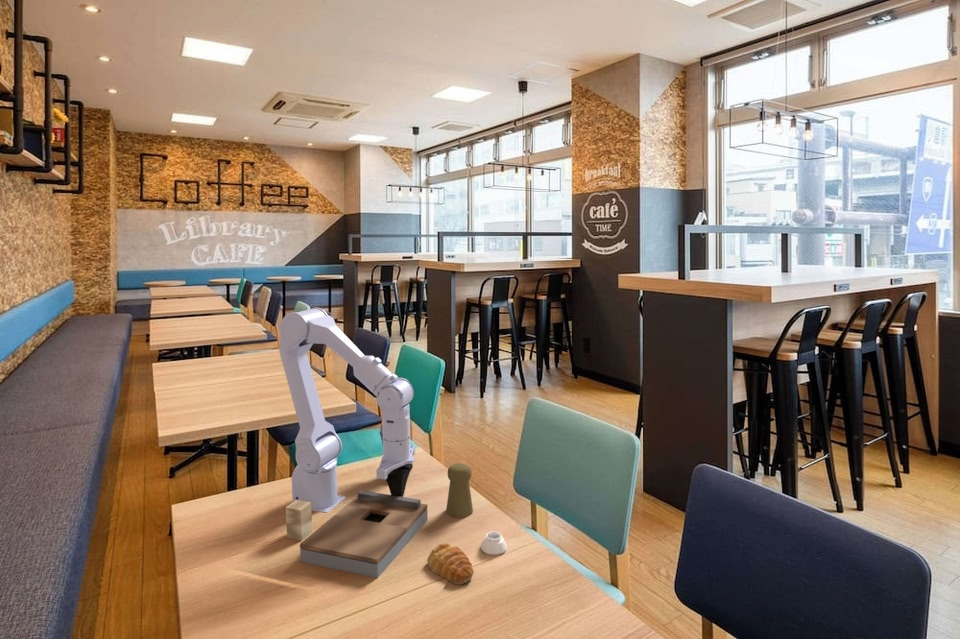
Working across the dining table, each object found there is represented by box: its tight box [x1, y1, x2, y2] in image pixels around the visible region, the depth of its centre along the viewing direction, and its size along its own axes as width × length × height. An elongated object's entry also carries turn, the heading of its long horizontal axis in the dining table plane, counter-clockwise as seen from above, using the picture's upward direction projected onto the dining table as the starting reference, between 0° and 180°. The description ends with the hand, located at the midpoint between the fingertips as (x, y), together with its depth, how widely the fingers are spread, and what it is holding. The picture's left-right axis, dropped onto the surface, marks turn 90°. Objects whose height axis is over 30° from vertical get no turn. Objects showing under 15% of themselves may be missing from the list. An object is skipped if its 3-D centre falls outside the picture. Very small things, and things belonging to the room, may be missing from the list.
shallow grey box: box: [299, 508, 428, 579], centre depth 118 cm, size 16×22×3 cm
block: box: [285, 500, 313, 542], centre depth 119 cm, size 4×4×7 cm
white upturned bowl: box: [480, 531, 508, 555], centre depth 115 cm, size 5×3×5 cm
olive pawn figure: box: [445, 462, 474, 519], centre depth 129 cm, size 6×6×11 cm
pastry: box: [426, 542, 475, 586], centre depth 108 cm, size 9×7×4 cm
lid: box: [299, 489, 428, 564], centre depth 117 cm, size 16×22×2 cm
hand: (397, 497), depth 127 cm, fingers closed
